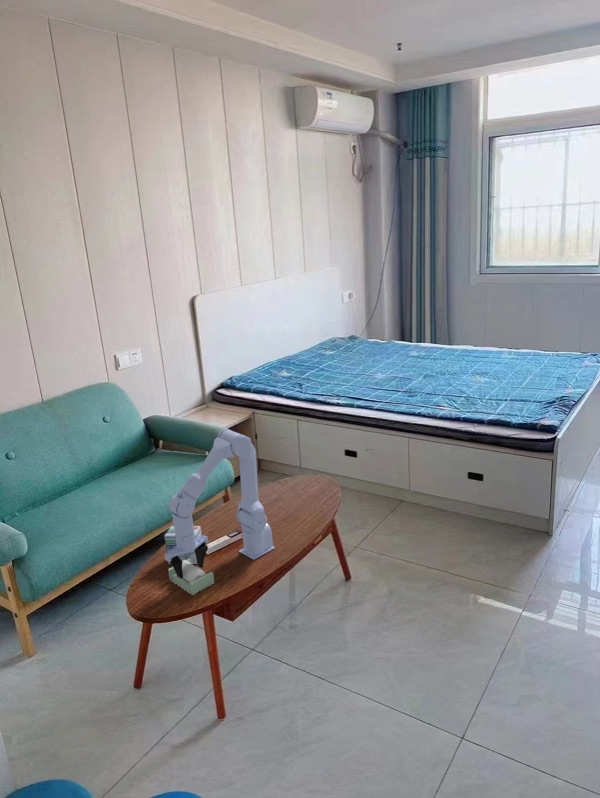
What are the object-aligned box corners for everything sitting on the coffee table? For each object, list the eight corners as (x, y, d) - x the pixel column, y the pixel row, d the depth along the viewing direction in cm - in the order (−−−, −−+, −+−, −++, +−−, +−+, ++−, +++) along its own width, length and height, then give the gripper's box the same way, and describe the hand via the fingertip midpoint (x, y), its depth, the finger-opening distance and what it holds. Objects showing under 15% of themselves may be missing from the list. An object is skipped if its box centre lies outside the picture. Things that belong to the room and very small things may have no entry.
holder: (169, 580, 185) (168, 569, 184) (191, 569, 190) (189, 558, 189) (192, 596, 176) (191, 584, 175) (214, 584, 181) (213, 572, 180)
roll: (176, 577, 184) (174, 563, 183) (189, 571, 188) (188, 557, 186) (192, 589, 178) (191, 574, 177) (206, 582, 181) (205, 568, 180)
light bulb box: (167, 564, 194) (163, 535, 191) (174, 553, 201) (170, 525, 197) (198, 564, 192) (194, 535, 189) (204, 553, 199) (201, 525, 196)
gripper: (197, 519, 186) (202, 557, 190) (157, 537, 176) (163, 577, 180) (210, 526, 181) (215, 565, 185) (169, 545, 171) (175, 586, 175)
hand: (190, 571), depth 182 cm, fingers open, 7 cm apart
